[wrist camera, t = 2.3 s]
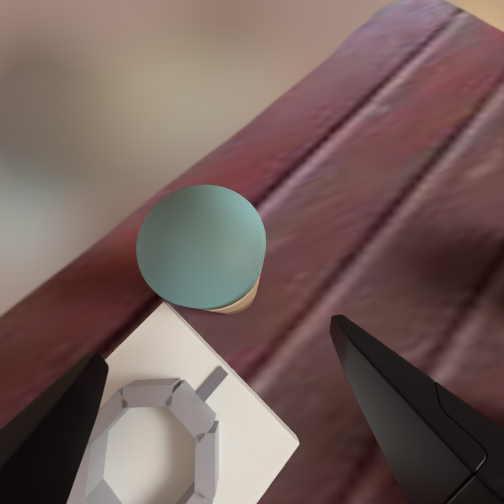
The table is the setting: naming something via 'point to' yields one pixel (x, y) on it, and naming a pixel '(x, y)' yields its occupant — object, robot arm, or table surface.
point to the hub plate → (178, 425)
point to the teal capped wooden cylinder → (203, 249)
